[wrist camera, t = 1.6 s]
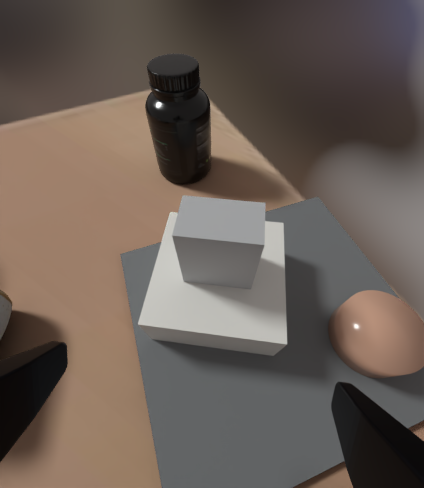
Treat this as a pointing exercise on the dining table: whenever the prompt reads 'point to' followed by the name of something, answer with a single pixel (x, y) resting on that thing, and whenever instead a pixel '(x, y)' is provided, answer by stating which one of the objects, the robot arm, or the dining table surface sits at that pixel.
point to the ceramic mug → (4, 312)
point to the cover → (219, 278)
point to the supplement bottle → (179, 118)
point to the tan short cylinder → (377, 335)
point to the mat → (265, 372)
